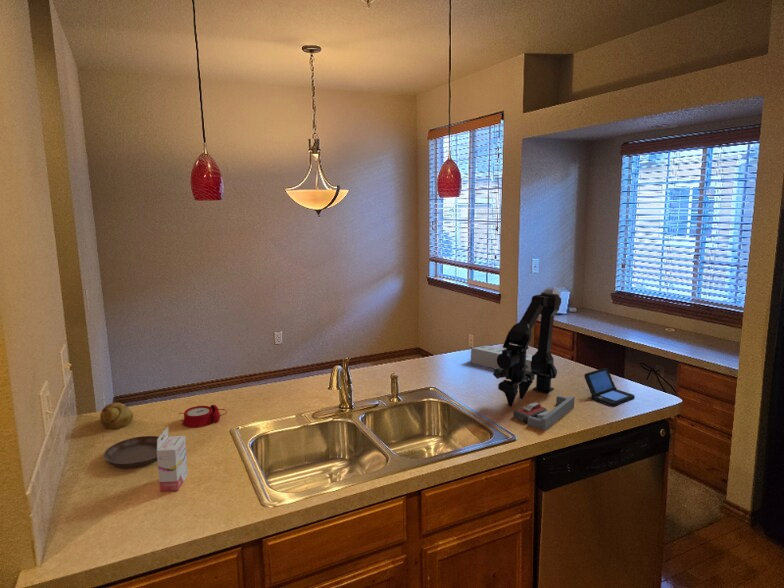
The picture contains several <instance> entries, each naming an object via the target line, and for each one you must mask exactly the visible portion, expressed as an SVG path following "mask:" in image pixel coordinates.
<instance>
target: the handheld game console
mask: <svg viewBox="0 0 784 588" xmlns="http://www.w3.org/2000/svg"><path fill="white" fill-rule="evenodd" d="M584 379H585V382H586V384H587V386H588V387H587V388H588V390H589V391H590V395H591V397H590V398H591V400H593V399H594V400H593V401H597V402H600V403H602V404H603V405H604V404H605V405H608V406H611V407H615V406H617V405H621V404H622V403H623V404H624V403H625V402H628V401H630V400H633V399H635V395H634V394H633V393H629V392H627V391H623V390H621V389H617V386H616V385H615V383H614V381H613V378H612V376H611V373H610V371H609V369H608V368H607V367H604V368H599V369H597V370H593V371H590V372H587V373H584Z"/></svg>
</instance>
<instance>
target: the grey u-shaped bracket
mask: <svg viewBox="0 0 784 588" xmlns="http://www.w3.org/2000/svg"><path fill="white" fill-rule="evenodd" d="M575 398H576V397H575V396H573V395H570V396H568V397H567V396H563V395H560V394H558V395H556V401H555V404H556V405H557V406H555V407H554V408H552V409H551V410H550V411H549V413H548V414H546V415H545V416H544V417H542V418H541V419H539V418H535V417H532V416H529V417H528V423H527V424H526V425H527V426H528V427H531V428H535V429H538V430H540V431H544V432H545V431H546V430H548V429H549V428H550V427H551V426H553V425H554V424H555V423H556V422H558V421H559V420H560V419H561V418H562V417H564V416H565V415H566V414H568V412H569V411H571V410H572V409H574V407H575ZM563 415H564V416H563Z"/></svg>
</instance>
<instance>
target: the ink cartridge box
mask: <svg viewBox="0 0 784 588" xmlns="http://www.w3.org/2000/svg"><path fill="white" fill-rule="evenodd" d="M158 437H159V438H158V439H157V461H156V462H157V471H158V483H159V492H178V491H179V490H180V488H181V486H182V485H183V483H184V481H185V479H186V478H187V477H188V475H189V474H188V473H189V471H188V460H187V459H188V458H187V444H186V436H185V435H179V436H177V435H176V436H169V427H168V426H166V429H164V430H163V432H162V433H161V434H160V435H159V436H158ZM162 437H163V439H162ZM161 439H162V440H161Z"/></svg>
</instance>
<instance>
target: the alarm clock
mask: <svg viewBox="0 0 784 588" xmlns="http://www.w3.org/2000/svg"><path fill="white" fill-rule="evenodd" d="M220 411H225V413H222V414H221V413H220ZM227 413H228V411H227V410H226V409H223V408H220V409H219V408H218V406H217V405H216V404H210V405H209V406H208V405H196V406H192V407H189V408H187V409H185V411H184V412H179V413H178V414H179V415H180V414H183V419H181V420H180V422H181V425H183V426H185V427H187V428H201V427H205V426H209V425H211V424H212V423H213V422H214V423H218V422H219V421H220V418H221V417H222V416H224V415H226V414H227Z"/></svg>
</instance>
